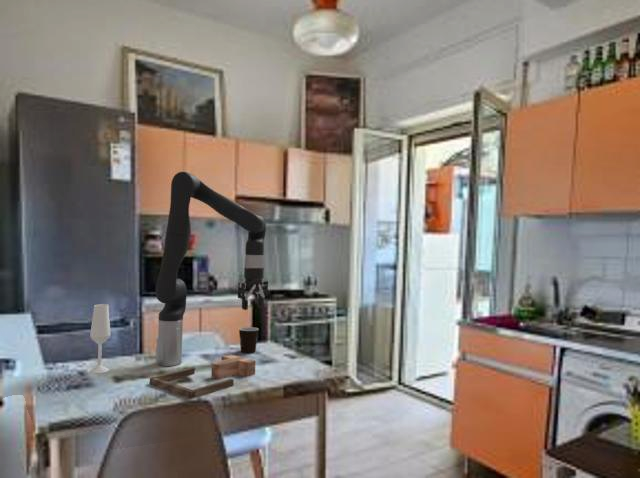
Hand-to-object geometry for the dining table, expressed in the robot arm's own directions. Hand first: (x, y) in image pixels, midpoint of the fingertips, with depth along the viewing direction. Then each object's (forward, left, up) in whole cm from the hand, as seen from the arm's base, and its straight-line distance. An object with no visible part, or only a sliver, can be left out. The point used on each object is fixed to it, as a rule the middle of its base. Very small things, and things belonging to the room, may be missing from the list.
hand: (252, 308), depth 179 cm
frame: (0, -27, -23) cm, 36 cm away
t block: (0, -11, -23) cm, 26 cm away
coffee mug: (-20, +19, -23) cm, 36 cm away
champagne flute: (-38, -40, -23) cm, 60 cm away
